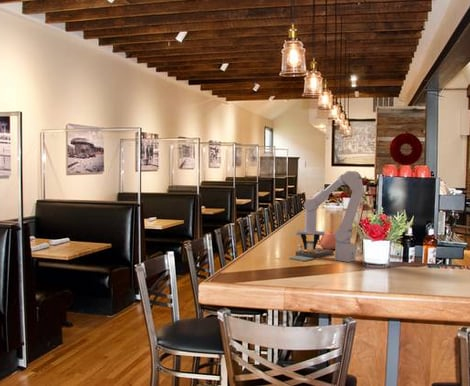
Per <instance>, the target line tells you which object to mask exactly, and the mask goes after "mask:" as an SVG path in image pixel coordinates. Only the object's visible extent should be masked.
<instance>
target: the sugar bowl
mask: <svg viewBox="0 0 470 386" xmlns="http://www.w3.org/2000/svg"><path fill="white" fill-rule="evenodd" d="M334 235H335V232H334V230H328V232H325V236H322V235H319V236H321V237H320V238H319V240H318V242H317V244H316V246H320V248H322V249H328V250H334V249H336V239H335V236H334Z"/></svg>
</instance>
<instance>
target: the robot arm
mask: <svg viewBox="0 0 470 386" xmlns="http://www.w3.org/2000/svg"><path fill="white" fill-rule="evenodd" d="M363 183H364V182H363V177H362V175H361V174H360V173H359V172H358V171H356V170H353V171H351V170H347V171H345V172H344V173H343V174H340V175H339V176H338V177H337V178H336V179H334V180H333V181H332V183H331V184H329V185H328V186H327V187H326V188H325V189H323V188H321V189H318V190H317V191H316V193H315V194H314V195H313V196H310V197H309V198H310V199H306V200H305V201H304V203H303V207H304V209H305V214H304V215H305V216H304V230H295V235H296V236H300V238H301V240H302V243H303V250H304V249H306V241H307V236H313V241H314V250H315V248H317V242H318V241H319V238H320V239H321V237H322V236H325V233H326V232H325V231H321V230H319V231H318V230H317V215H318V214H317V210H318V209H319V207H320V206H321V205H322V204H323V203H325V202H326V201H327V200H328V199H329V198H330V195H331V193H333V192H335V191H336V190H337V189H338V188H340V187H341V186H344V185H347V186H348V187H349V188H350V190H351V192H352V193H351V195H350V198H349V200H348V204H347V206H346V209H345V213H344V215H343V218H342V221H341V223H340V224H339V226H338V228H337V229H336V230H335V232H334V233H335V235H334V236H335V239H336V249H335V250H334V255H335V256H334V257H332V258H331V260H334V261H339V262H345V263H350V262H354V261H357V259H356V257H357V255H356V254H357V253H356V252H357V251H356V250H357V247H356V244H355V243H352V242H351V238H352V237H353V229H354V227H353V224H354V221H355V218H356V216H357V215H356V214H357V212H358V210H359V206H360V204H361V201H362V197H363V195H364V192H365V188H364V184H363ZM319 235H320V236H321V237H320V236H319ZM318 243H319V242H318Z"/></svg>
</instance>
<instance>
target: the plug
mask: <svg viewBox="0 0 470 386" xmlns="http://www.w3.org/2000/svg"><path fill="white" fill-rule="evenodd" d="M303 250H304V252H306V253H315V250H314V240H306V249H304V248H303Z"/></svg>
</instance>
